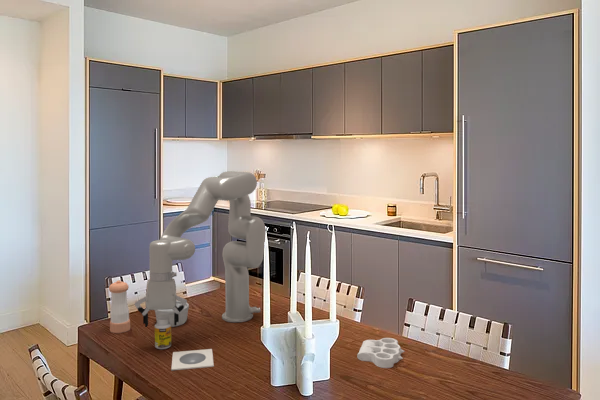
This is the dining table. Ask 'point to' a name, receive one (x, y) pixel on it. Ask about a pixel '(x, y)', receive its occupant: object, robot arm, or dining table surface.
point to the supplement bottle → (162, 333)
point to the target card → (192, 359)
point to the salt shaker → (119, 307)
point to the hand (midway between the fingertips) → (161, 324)
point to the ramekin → (170, 314)
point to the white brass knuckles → (381, 352)
